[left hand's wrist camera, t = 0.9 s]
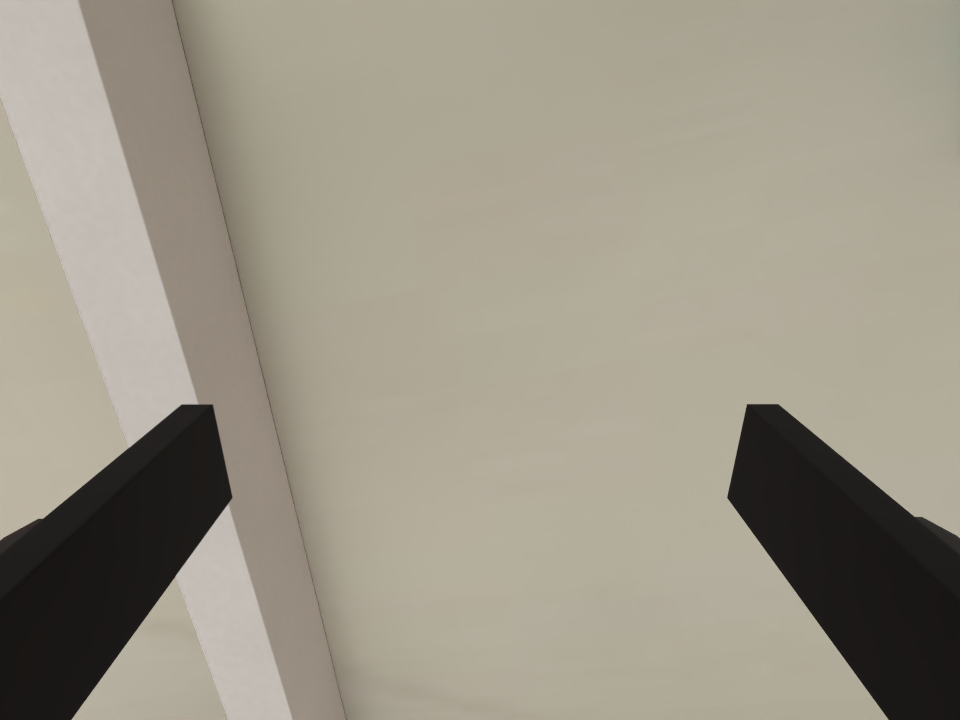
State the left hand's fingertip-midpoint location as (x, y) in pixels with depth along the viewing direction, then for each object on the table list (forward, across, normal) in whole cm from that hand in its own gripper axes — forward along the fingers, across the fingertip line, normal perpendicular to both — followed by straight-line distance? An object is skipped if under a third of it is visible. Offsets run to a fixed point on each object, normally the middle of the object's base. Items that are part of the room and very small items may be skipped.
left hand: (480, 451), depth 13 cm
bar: (+21, -16, -18) cm, 32 cm away
